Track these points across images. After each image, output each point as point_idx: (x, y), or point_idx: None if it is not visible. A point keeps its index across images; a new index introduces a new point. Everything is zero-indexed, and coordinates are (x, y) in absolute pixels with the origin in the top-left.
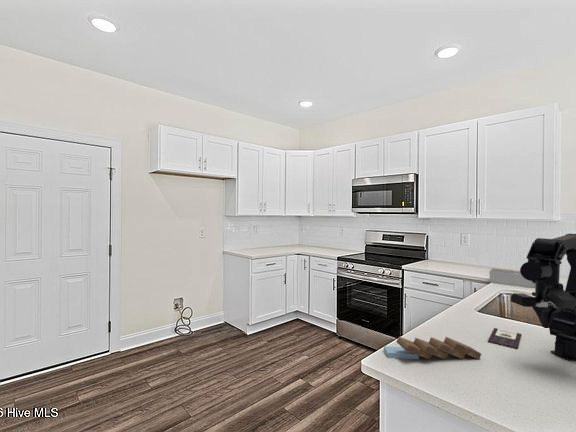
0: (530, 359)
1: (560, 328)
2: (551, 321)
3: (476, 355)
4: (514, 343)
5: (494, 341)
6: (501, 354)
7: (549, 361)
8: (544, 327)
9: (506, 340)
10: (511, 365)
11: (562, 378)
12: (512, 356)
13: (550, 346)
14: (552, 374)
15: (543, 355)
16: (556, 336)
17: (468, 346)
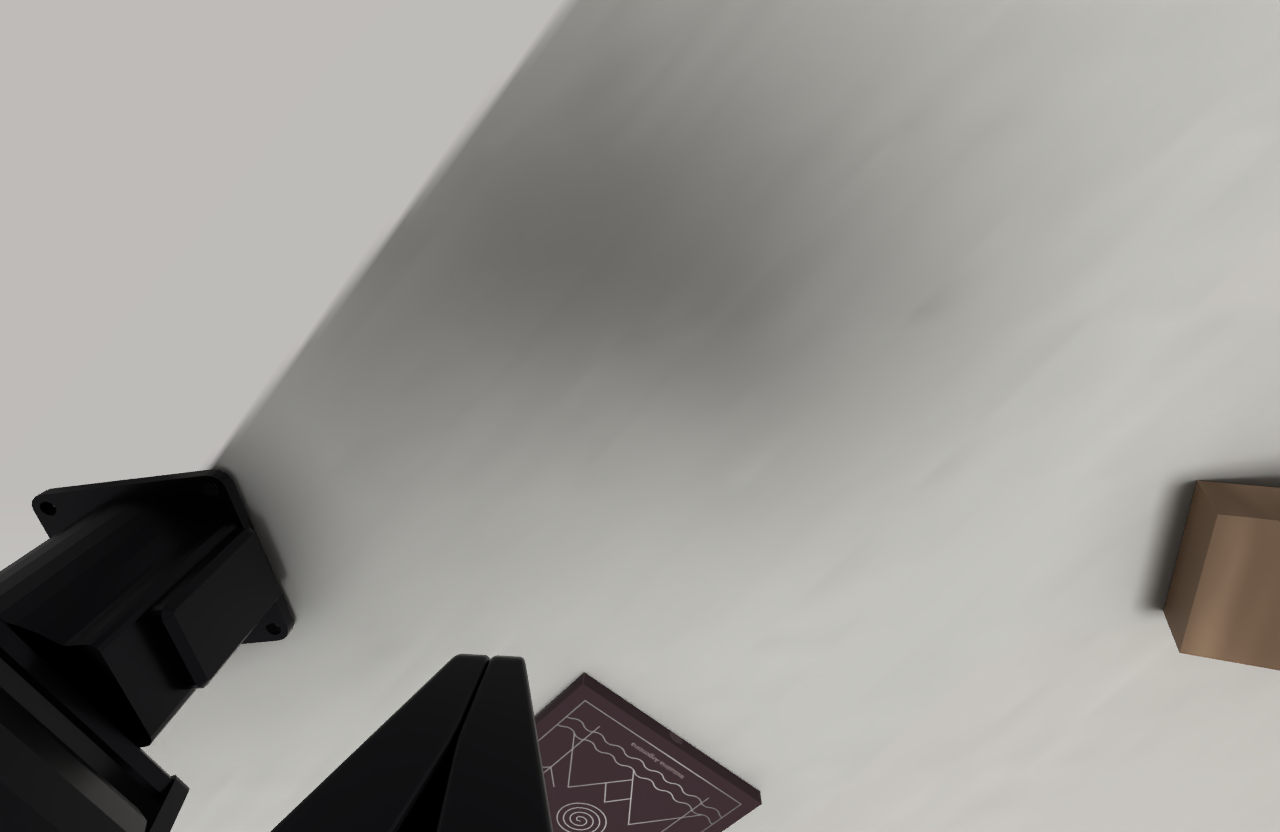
0: (621, 492)
1: (24, 802)
2: (302, 804)
3: (1268, 500)
4: None
5: (705, 792)
6: (841, 582)
7: (449, 457)
8: (525, 681)
9: (567, 809)
10: (953, 365)
11: (617, 79)
12: (760, 546)
13: (208, 727)
14: (657, 174)
15: (414, 570)
16: (143, 741)
17: (1246, 644)
